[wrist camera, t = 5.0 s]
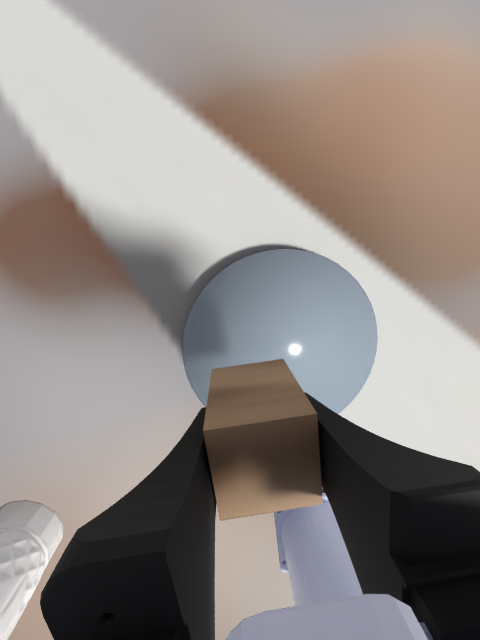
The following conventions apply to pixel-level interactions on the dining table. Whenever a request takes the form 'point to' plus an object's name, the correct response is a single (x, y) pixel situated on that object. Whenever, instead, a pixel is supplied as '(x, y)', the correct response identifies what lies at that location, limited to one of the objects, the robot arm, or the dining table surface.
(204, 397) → the slate dish
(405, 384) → the dining table surface
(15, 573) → the white cup
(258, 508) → the walnut block
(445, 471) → the robot arm
